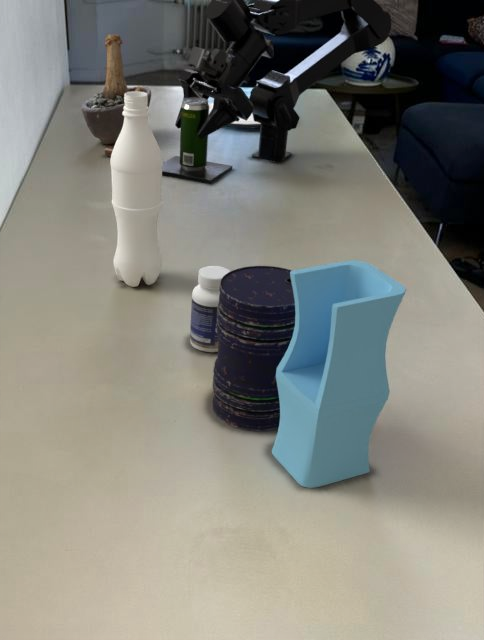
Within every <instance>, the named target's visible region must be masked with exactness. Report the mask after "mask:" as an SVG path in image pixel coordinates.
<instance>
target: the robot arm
mask: <svg viewBox="0 0 484 640" xmlns="http://www.w3.org/2000/svg"><path fill="white" fill-rule="evenodd" d="M336 13H341V18H342V20H343V25H342V26H341V29H340V32H339V33H338V34H336V35H335V36H333V37H332V38H331V39H330V40H328V41H327V42H326V43H324V44H322V46H321V47H319V48H318V49H316V50H315V51H314V52H313V53H311V54H310V55H309V56H307V57H306V58H304V60H302V61H301V62H300V63H298V64H297V65H295V66H294V67H293V68H292V69H289V70H288V71H287V72H286V73H281V72H279V71H275V70H271V71H269V72H268V73H267V74H266V75H264V77H263V78H260V79H259V80H256V81H255V83H256V85H255V86H254V87H252V89H251V90H250V93H249V97H248V94H246V92H245V91H244V89H243V88H242V87H240V86H241V85H242V84H243V83H244V84H248V83H249V82H250V81H251V77H250V76H249V74H250V73H251V71H252V70H253V68H254V67H255V66H256V64H257V63H258V62H259V60H260V59H261V58H262V57H266V58H269V59H273V58H274V56H275V54H274V53H275V52H274V40H270V39H267V38H266V36H265V35H264V33H266V34H270V35H272V36H276V37H277V36H283V35H285V34H287V33H289V32H290V31H291V32H292V31H293V30H295V29H296V28H297V27H298V26H299V25H300V24H301V23H303V22H305V21H309V20H312V19H317V18H320V17H324V16H329V15H333V14H336ZM205 18H206V19H207V20H208V22H209V23H210V24H211V26H212V27H213V29H215V31H216V33H217V34H218V36H219V37H220V38H221V40H222V41H223V42H224V43H231V44H230V45H229V47H228V48H227V50H226V51H224V50H222V49H219V48H214V49H213V50H212V51H209V50H206V49H204V48H202V47H198V46H195V45H194V46H193V47H192V50H191V53H190V55H189V58H188V60H187V63H186V65H187V66H189V67H194V68H196V69H197V70H199V71H201V73H199V72H198V71H195V70H192V69H190V68H188V69H182V71H181V73H180V74H179V76H178V77H177V81H178V82H179V83H180V86H181V88H182V91H183V92H182V93H183V98H182V100H183V99H185V98H191V97H198V98H204V99H207V100H208V101H209V99H210V98H212V99H213V103H214V104H213V109H212V110H211V112H210V114H209V115H208V117H207V118H206V120H205V122H204V123H203V125H202V126H201V128H200V130H199V132H198V134H197V136H198V137H199V138H200V139H202V138H204V137H206V136H207V135H208V136H209V135H211V134H213V133H215V132H217V131H218V130H220V129H222V128H224V127H226V125H228V124H230V123H233V122H235V121H237V122H238V121H239V120H240V119H239V118H241V119H244V120H246V121H247V120H248V118H249V117H250V115H251V114H253V119H254V121H255V122H259V123H261V127H260V129H259V140H258V141H259V142H258V151H256V152H254V153H252V155H251V158H252V159H256V160H262V161H268V162H273V163H282V162H283V161H285V160H286V159H287V158H288V157H290V156H292V152H291V151H287V145H288V136H289V131H291V130H295V129H297V127H298V124H299V121H300V119H301V117H300V115H299V114H298V112H297V110H295V107H296V105H297V103H298V99H299V98H300V96H301V95H302V94H303V93H304V92H306V91H307V90H308V89H309V88H311V87H312V86H313V85H316V83H317V82H319V81H320V80H322V79H323V78H324V77H325V76H327V75H328V74H329V73H331V72H332V71H333V70H335V68H337V67H339V66H340V65H341V64H343V63H344V62H345V61H346V60H347V59H349V58H350V57H351V56H353V55H355V54H357V53H362V52H365V51H369V50H372V49H374V48H376V47H377V46H380V45H381V44H384V43H385V42H386V41H387V40H388V39H389V36H390V33H391V30H392V17H391V14H390V13H389V12H388V11H387V10H384V8H383V7H382V6H381V5H380V4H379V3H378V2H377V1H375V0H255V2H254V3H249V4H247V3H246V2H245V0H210V2H209V3H208V5H207V6H206V8H205ZM182 103H183V102H181V104H182ZM238 117H239V118H238ZM174 125H175V127H176V128H177V129H179V130H180V129H181V107H179V111H178V115H177V118H176V121H175V123H174Z"/></svg>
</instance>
